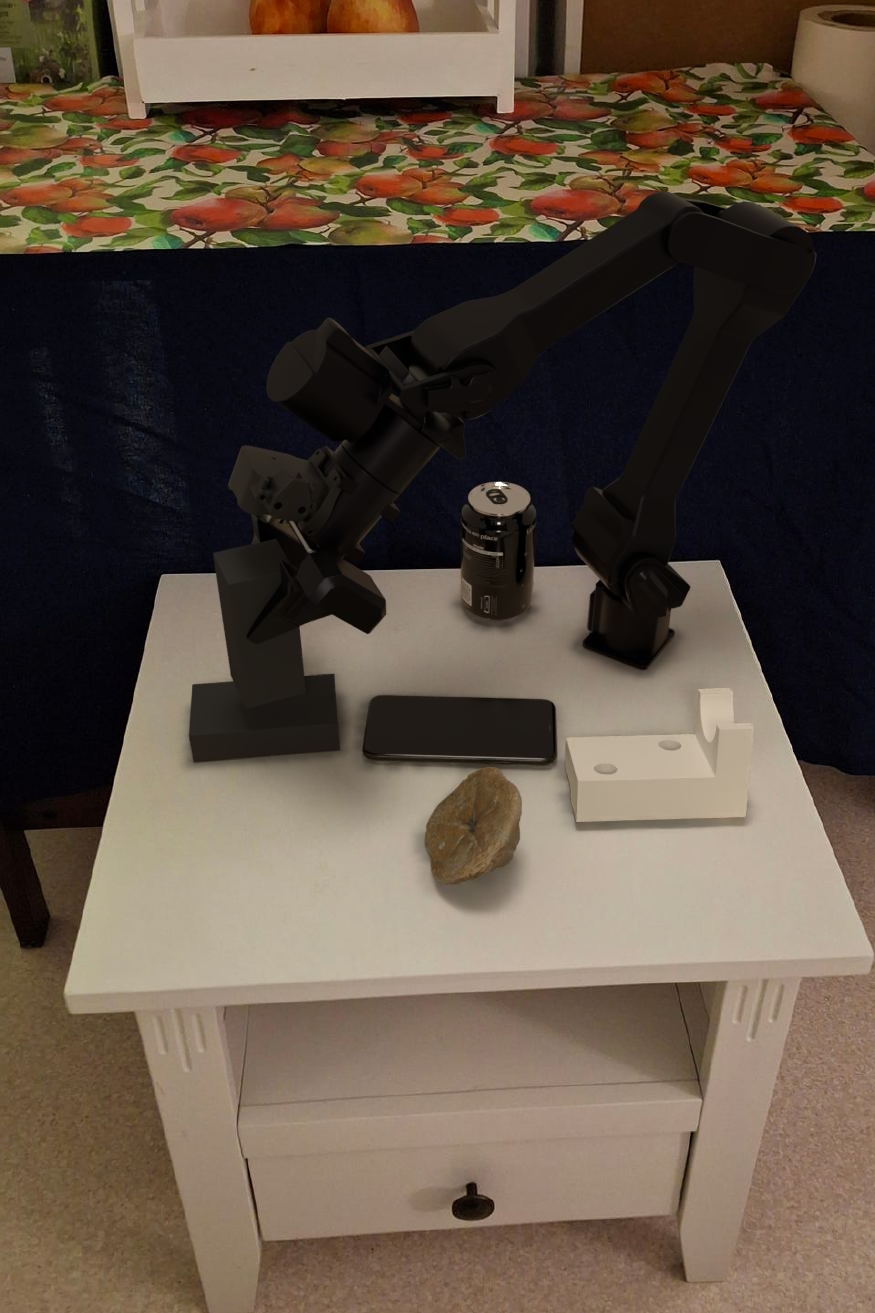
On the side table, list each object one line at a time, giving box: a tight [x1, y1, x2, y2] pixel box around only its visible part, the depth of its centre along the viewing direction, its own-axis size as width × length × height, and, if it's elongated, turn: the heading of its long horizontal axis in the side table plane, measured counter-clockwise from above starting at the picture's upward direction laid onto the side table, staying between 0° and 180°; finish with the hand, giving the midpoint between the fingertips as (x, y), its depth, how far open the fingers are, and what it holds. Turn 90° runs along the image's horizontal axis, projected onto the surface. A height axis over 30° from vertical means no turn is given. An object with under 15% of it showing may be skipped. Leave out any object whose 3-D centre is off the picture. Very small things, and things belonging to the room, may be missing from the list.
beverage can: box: [460, 481, 537, 622], centre depth 113 cm, size 7×7×12 cm
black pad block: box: [212, 539, 306, 709], centre depth 94 cm, size 5×4×12 cm
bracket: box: [564, 687, 755, 823], centre depth 95 cm, size 13×7×8 cm, turn 92°
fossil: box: [424, 766, 523, 886], centre depth 90 cm, size 9×4×10 cm
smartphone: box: [361, 694, 558, 767], centre depth 102 cm, size 8×1×16 cm
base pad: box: [188, 673, 341, 763], centre depth 102 cm, size 12×6×3 cm, turn 96°
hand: (242, 623), depth 94 cm, fingers closed on black pad block, 4 cm apart
